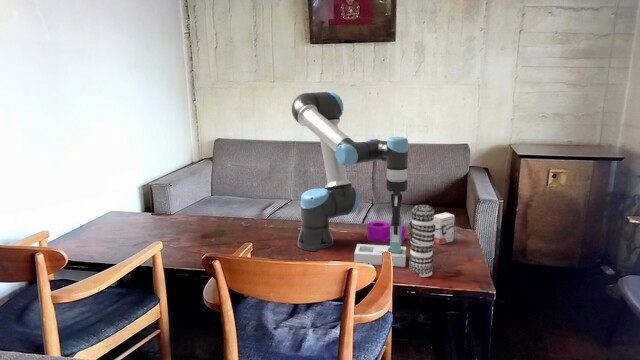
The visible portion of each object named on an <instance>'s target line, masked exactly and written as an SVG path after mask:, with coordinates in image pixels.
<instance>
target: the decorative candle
mask: <svg viewBox="0 0 640 360" xmlns="http://www.w3.org/2000/svg"><path fill="white" fill-rule="evenodd" d="M411 213H412V215H411V220H410V222H409V224H408V225H409V236H410V237H409V243H410V251H409V252H410V253H408V254H409V257H408V258H409V259H408V261H409V262H408V264H409V265H408V269H409V271H411V272H412V273H414V274H418V277H419V278H428V277H430V276H432V275H433V270H434V268H433V266H434V254H433V253H434V252H433V251H434V250H433V245H434V244H435V243H434V238H433V237H434V236H435V235H434V234H433V232H435V229H434V228H435V227H436V226H435V225H434V215H435V214H434V213H435V209H433V207H432V206H430V205H428V204H418V205H417V204H416V205H415V206H414V207H413V208H412V209H411Z"/></svg>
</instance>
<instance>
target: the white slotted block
mask: <svg viewBox="0 0 640 360" xmlns="http://www.w3.org/2000/svg"><path fill="white" fill-rule="evenodd" d="M385 251H389V252H390V245H382V244H381V245H379V244H378V245H377V244H364V243H363V244H362V243H357V244H356V247H355V250H354V254H353V255H354V256H353V258H354V259H353V262H363V263H369V264H368V265H370V264H372V266H382V265H381V264H382V253H383V252H385ZM391 254H392V253H391ZM406 257H407V246H401V254H392V259H393V266H392V267H399V268H400V267H401V268H405V267H406V261H407V260H406V259H407V258H406Z"/></svg>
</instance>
